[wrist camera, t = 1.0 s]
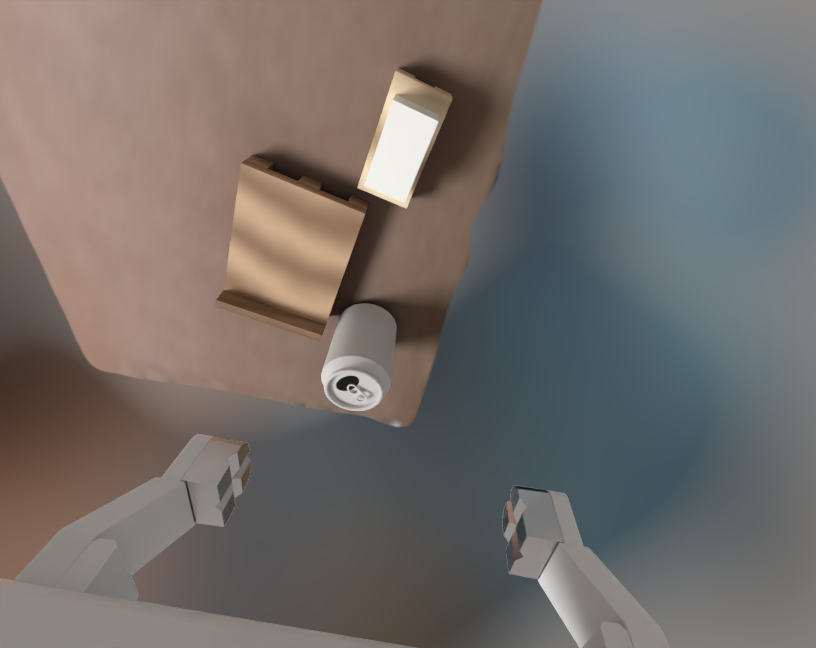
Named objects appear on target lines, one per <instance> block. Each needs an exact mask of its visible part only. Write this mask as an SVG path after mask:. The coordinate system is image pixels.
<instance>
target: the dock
mask: <svg viewBox="0 0 816 648" xmlns="http://www.w3.org/2000/svg"><path fill="white" fill-rule="evenodd" d="M272 168H273V163H272V162H270V161H267V160H265V159H262V158H260V157H258V156H255V155H252V156H250V157H249V158H248V159H246V160H245V161H243V162H242V163H241V167H240V174H239V182H238V189H237V197H236V204H235V212H234V219H233V227H232V234H231V242H230V249H229V257H228V264H227V272H226V279H225V287H224V291H223V292H222V293H221V295H220V296H219V297H218V298H217V300H216V306H215V307H218V308H221V309H224V310H227V311H230V312H233V313H236V314H239V315H242V316H245V317H248V318H251V319H254V320H257V321H260V322H263V323H266V324H269V325H272V326H275V327H278V328H281V329H284V330H287V331H290V332H293V333H296V334H299V335H302V336H305V337H308V338H311V339H314V340H317V341H320V340H321V337H322V334H323V331H324V329H325V326H326V323H327V320H328V317H329V315H330V312H331V309H332V306H333V303H334V301H335V298H336V295H337V292H338V289H339V287H340V284H341V281H342V278H343V275H344V272H345V270H346V267H347V264H348V261H349V258H350V256H351V253H352V250H353V247H354V244H355V242H356V239H357V236H358V233H359V230H360V228H361V225H362V222H363V219H364V216H365V213H366V211H367V208H368V205H369V203H368V202H366V201H364V200H361V199H359V198H356V197H354V196H352V195H351V196H350V198H349V200H348V201H345V200H343V199H341V198H338V197H336V196H333V195H331V194H328V193H326V192H324V191H321V187H322V184H323V183H320V182H318V181H315V180H313V179H311V178H308V177H306V176H302V177H301V179H300V180H299V181H297V180H294V179H292V178H289V177H287V176H285V175H282V174H280V173H277V172H275V171H272Z"/></svg>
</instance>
